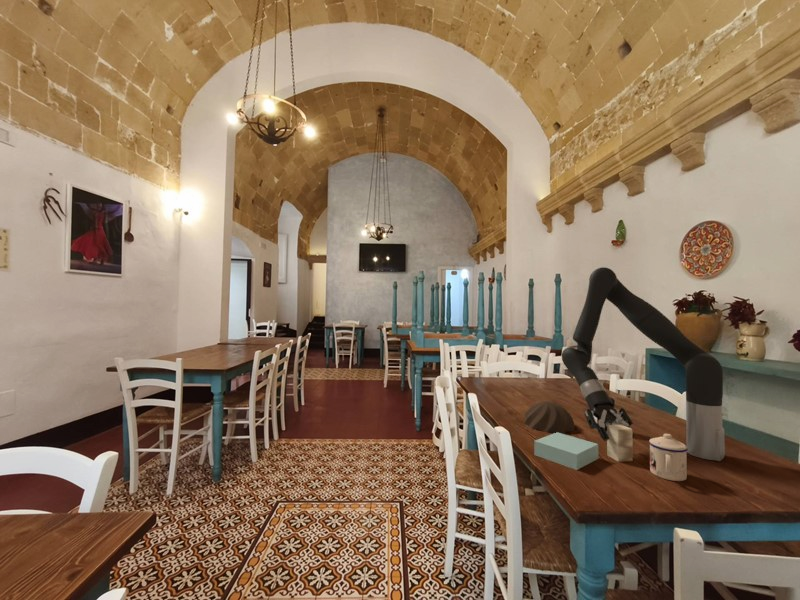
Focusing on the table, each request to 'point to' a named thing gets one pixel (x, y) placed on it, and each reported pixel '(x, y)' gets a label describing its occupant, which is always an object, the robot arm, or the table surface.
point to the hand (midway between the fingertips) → (619, 439)
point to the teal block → (566, 450)
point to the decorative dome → (549, 418)
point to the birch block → (619, 442)
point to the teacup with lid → (668, 458)
